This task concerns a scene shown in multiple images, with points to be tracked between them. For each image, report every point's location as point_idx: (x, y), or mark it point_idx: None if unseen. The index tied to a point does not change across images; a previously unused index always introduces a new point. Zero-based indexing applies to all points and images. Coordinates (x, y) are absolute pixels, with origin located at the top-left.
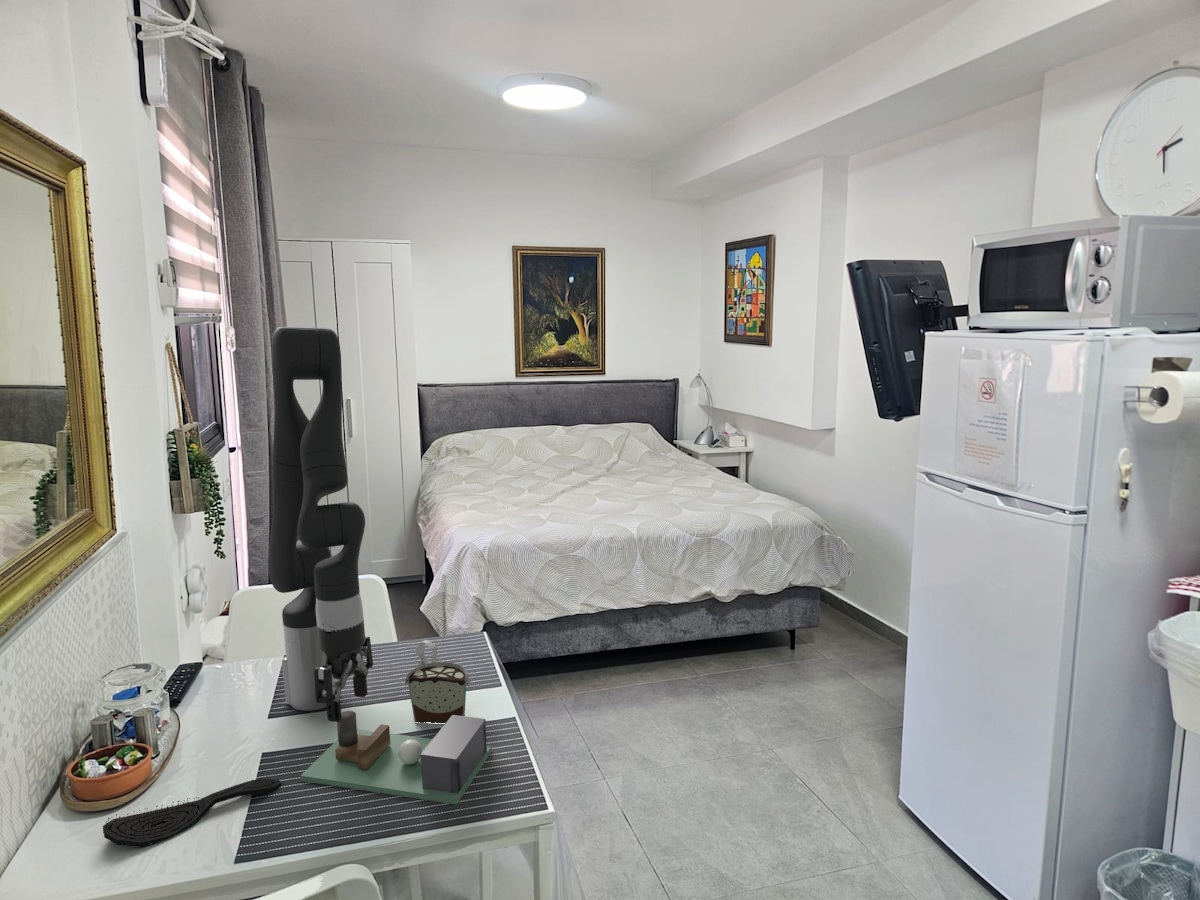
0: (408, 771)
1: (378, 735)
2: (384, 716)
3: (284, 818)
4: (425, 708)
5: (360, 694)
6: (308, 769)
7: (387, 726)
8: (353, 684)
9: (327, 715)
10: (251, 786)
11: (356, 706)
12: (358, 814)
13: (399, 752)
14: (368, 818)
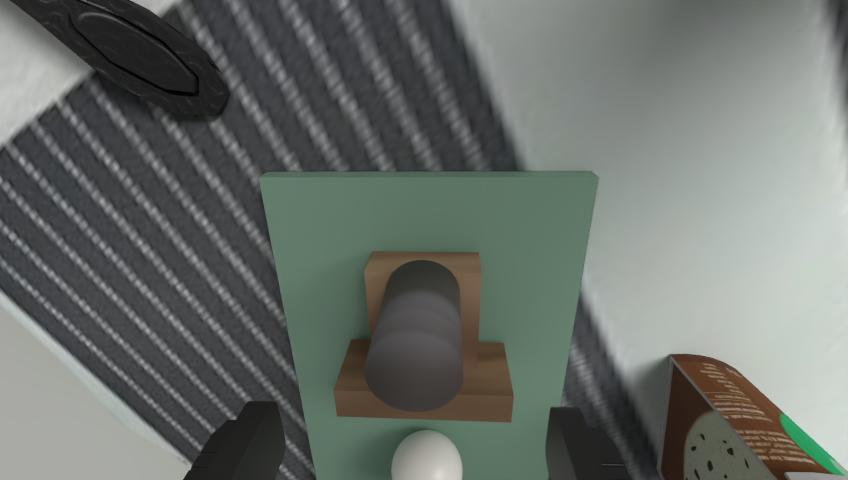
0: (388, 446)
1: (435, 417)
2: (725, 240)
3: (109, 231)
4: (698, 431)
5: (551, 444)
6: (297, 183)
7: (501, 421)
8: (574, 477)
9: (204, 450)
10: (101, 41)
11: (837, 74)
12: (219, 389)
13: (398, 464)
14: (219, 413)
